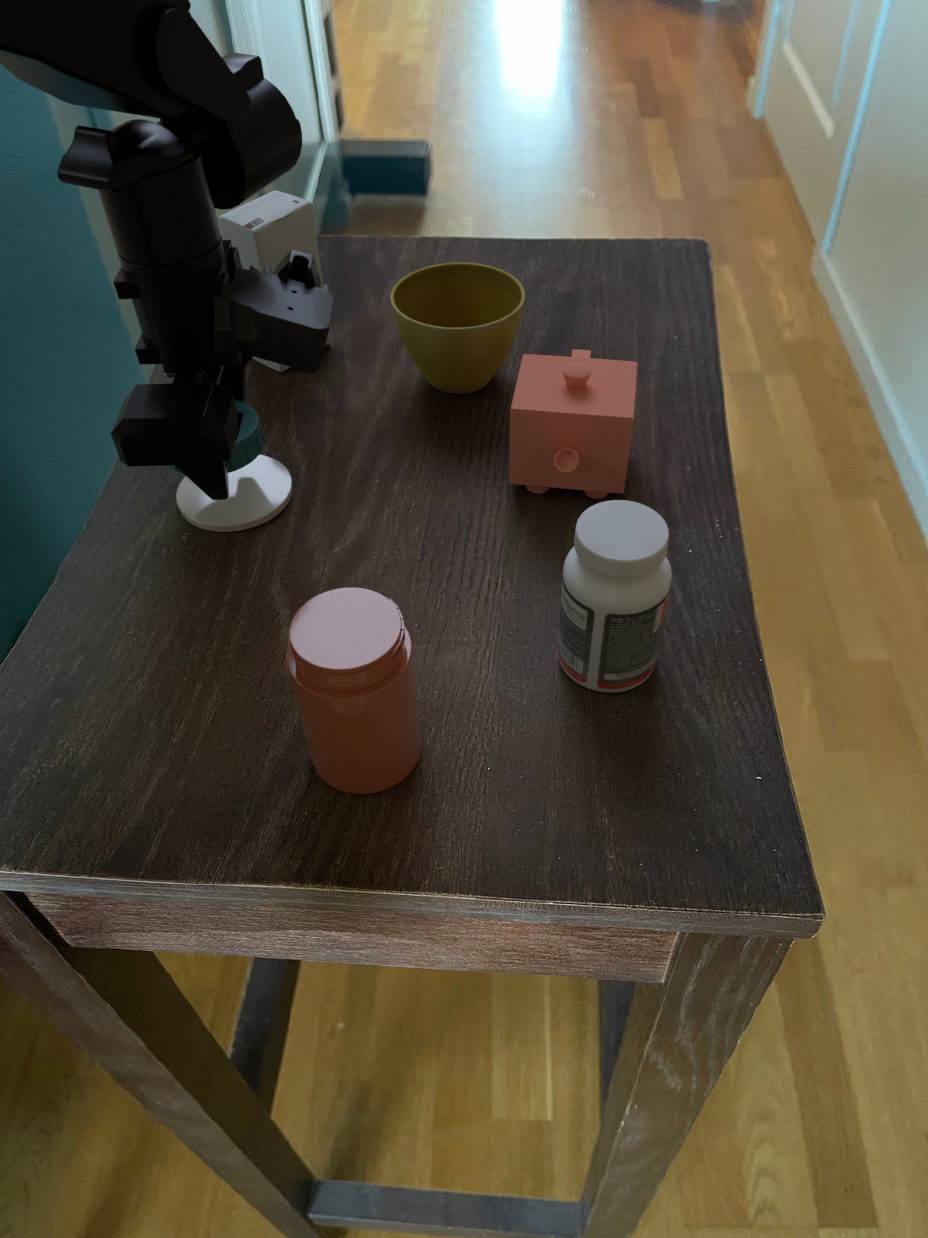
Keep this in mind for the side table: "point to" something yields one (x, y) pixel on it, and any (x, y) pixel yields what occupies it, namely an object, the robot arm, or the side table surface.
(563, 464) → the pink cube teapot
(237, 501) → the saucer
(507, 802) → the side table surface
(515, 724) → the side table surface
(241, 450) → the lid
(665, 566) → the pill bottle
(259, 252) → the cosmetic box
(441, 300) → the flower pot
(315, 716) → the jar
